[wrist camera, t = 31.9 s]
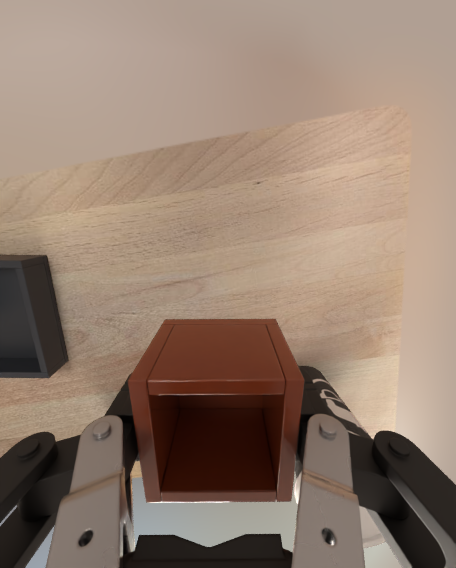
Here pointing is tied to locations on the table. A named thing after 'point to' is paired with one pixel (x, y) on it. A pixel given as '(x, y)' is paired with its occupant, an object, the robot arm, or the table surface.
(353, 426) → the coffee cup
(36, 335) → the tray
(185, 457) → the box brown
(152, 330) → the table surface
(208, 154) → the table surface
